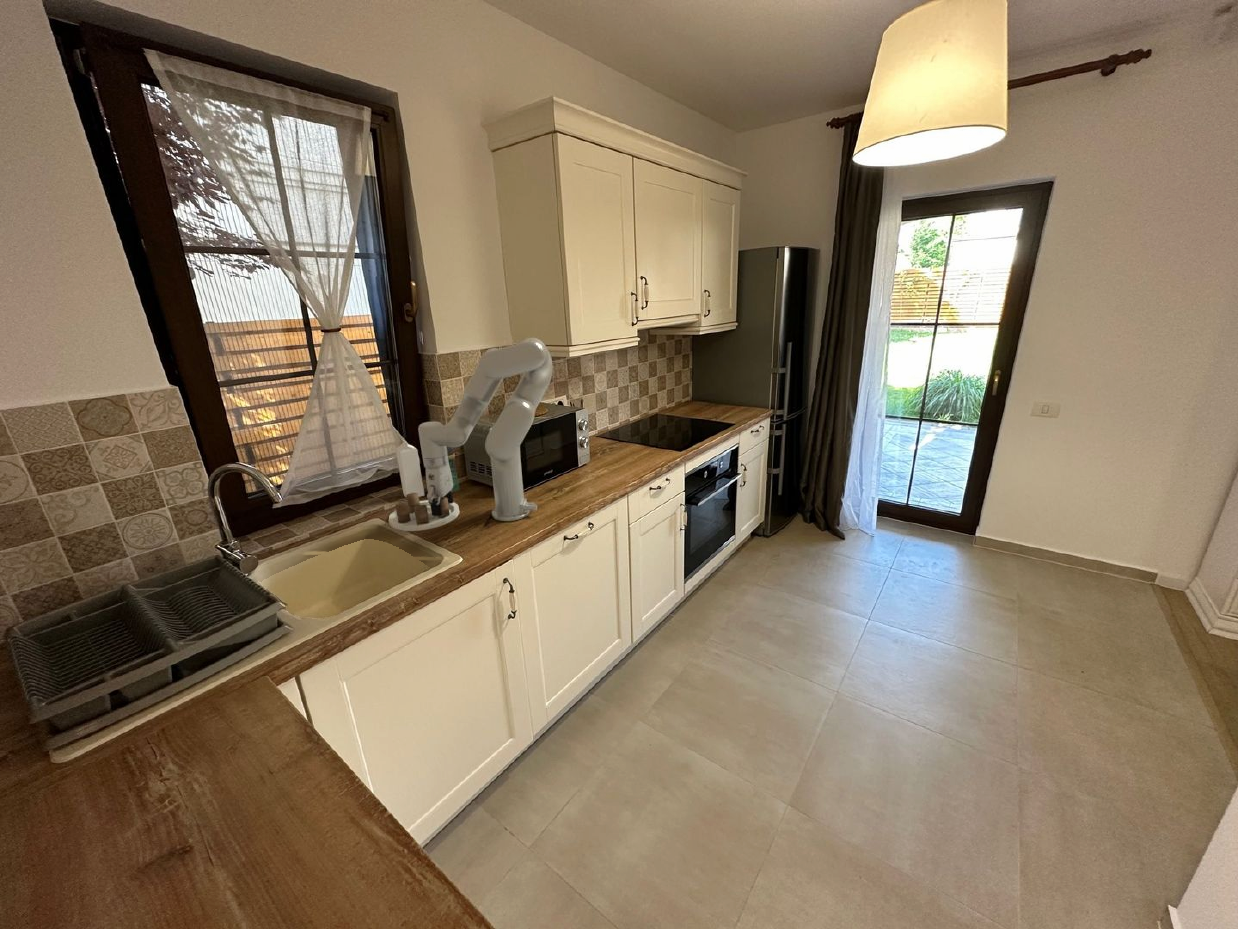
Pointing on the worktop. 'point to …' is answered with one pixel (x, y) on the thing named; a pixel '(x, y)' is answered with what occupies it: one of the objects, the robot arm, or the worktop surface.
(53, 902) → the worktop surface
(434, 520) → the groove tray
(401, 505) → the brown round peg
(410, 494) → the seated bead
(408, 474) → the milk
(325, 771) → the worktop surface
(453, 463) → the coffee jar
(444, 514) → the tan rounded cylinder
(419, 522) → the brown round peg
